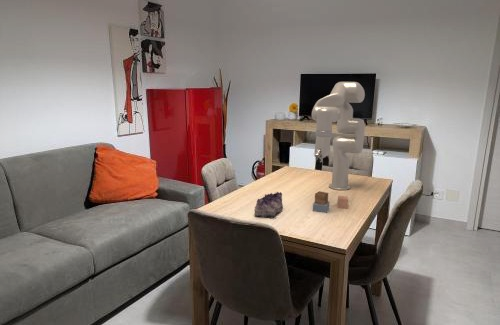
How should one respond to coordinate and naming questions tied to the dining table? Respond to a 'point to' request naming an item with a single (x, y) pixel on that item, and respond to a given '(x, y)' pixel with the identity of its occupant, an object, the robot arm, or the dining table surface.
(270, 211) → the geode
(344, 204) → the terracotta cube
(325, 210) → the blue-grey square box
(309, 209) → the dining table surface
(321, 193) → the walnut cube
